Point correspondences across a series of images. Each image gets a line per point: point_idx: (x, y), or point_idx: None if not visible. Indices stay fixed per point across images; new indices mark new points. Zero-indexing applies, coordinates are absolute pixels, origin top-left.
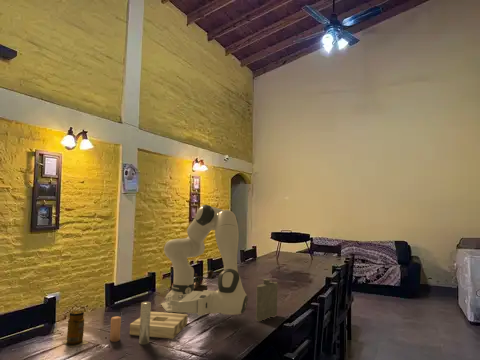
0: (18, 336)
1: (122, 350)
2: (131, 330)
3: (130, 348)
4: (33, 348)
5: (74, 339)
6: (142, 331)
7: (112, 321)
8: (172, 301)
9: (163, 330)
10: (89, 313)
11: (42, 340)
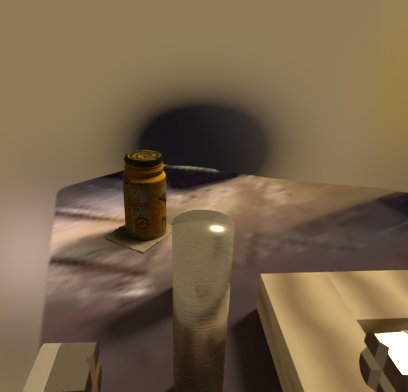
0: None
1: None
2: (259, 299)
3: (117, 371)
4: (95, 200)
5: (127, 223)
6: (173, 348)
7: None
8: (34, 373)
9: None
10: (335, 187)
11: None
